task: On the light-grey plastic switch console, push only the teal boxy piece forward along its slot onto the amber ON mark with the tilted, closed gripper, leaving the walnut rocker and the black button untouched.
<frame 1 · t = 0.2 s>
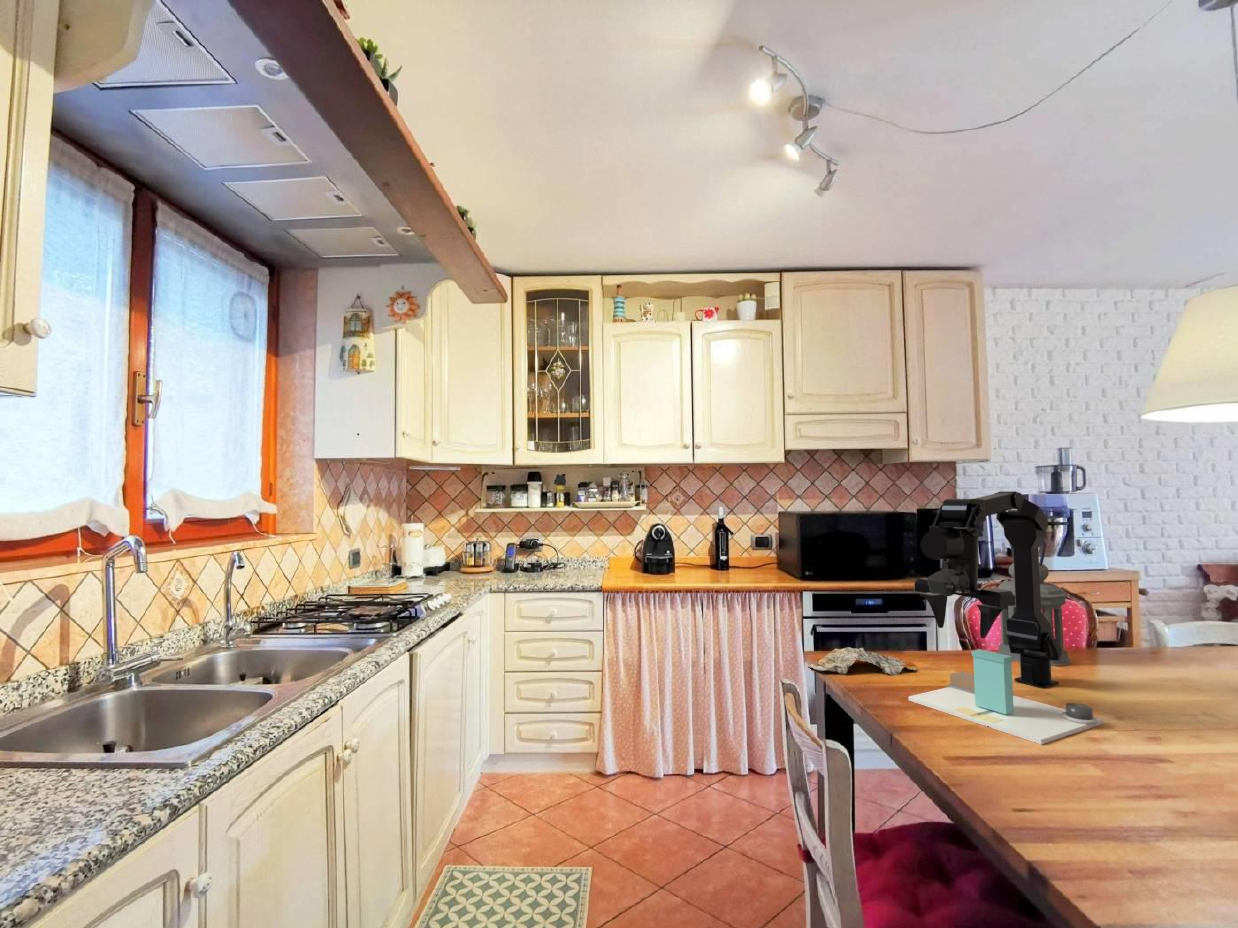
hand: (961, 632, 125), 14 cm above the table, tool pointing down, fingers open, 9 cm apart
teal boxy piece: (992, 681, 118), point 6 cm above the table, slide at 0.0 cm
lantern: (1032, 658, 159), on the table
rock: (863, 670, 151), on the table
console: (999, 711, 119), on the table
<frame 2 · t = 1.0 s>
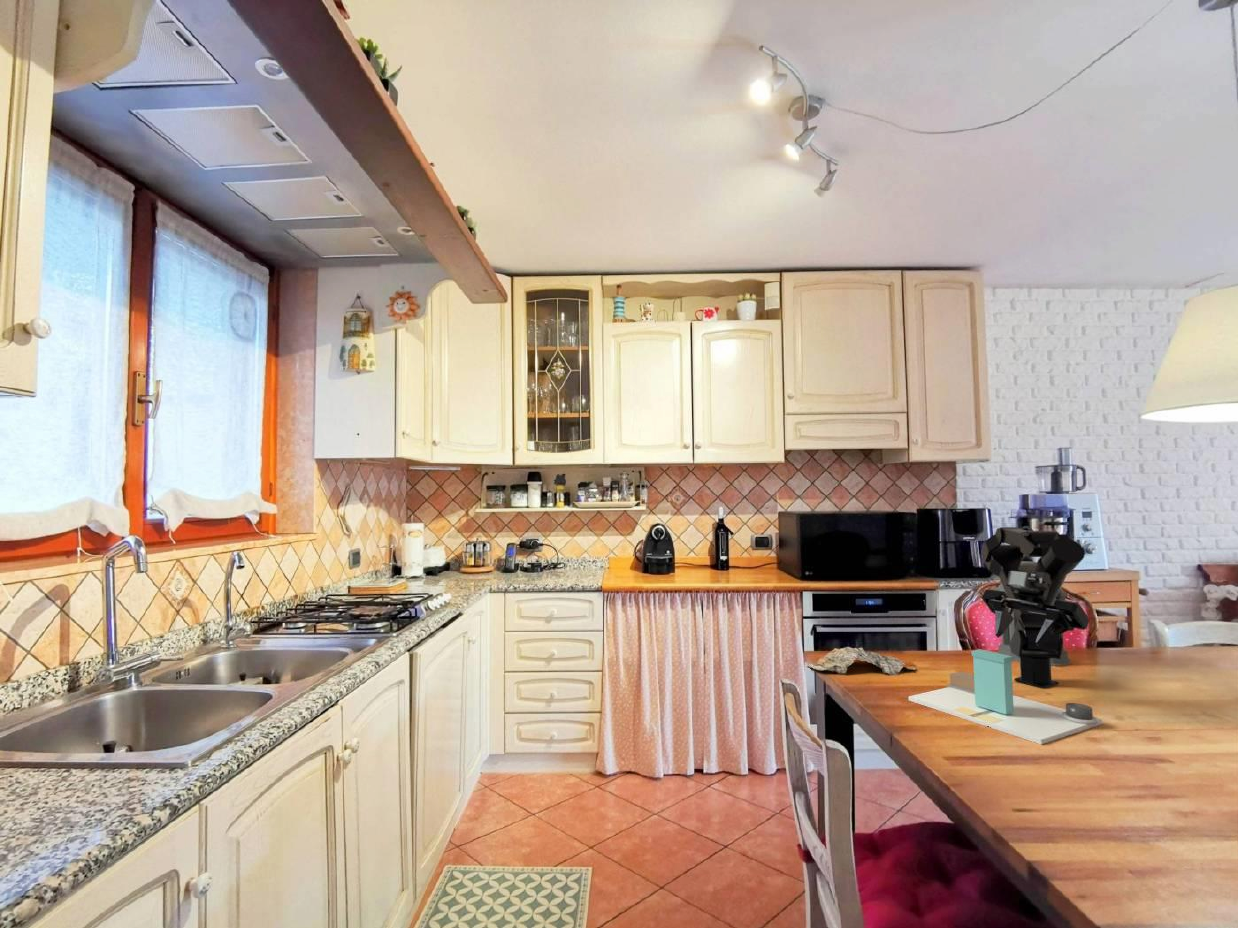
hand: (1016, 640, 123), 13 cm above the table, tool tilted 45°, fingers open, 8 cm apart
nothing on the table moved.
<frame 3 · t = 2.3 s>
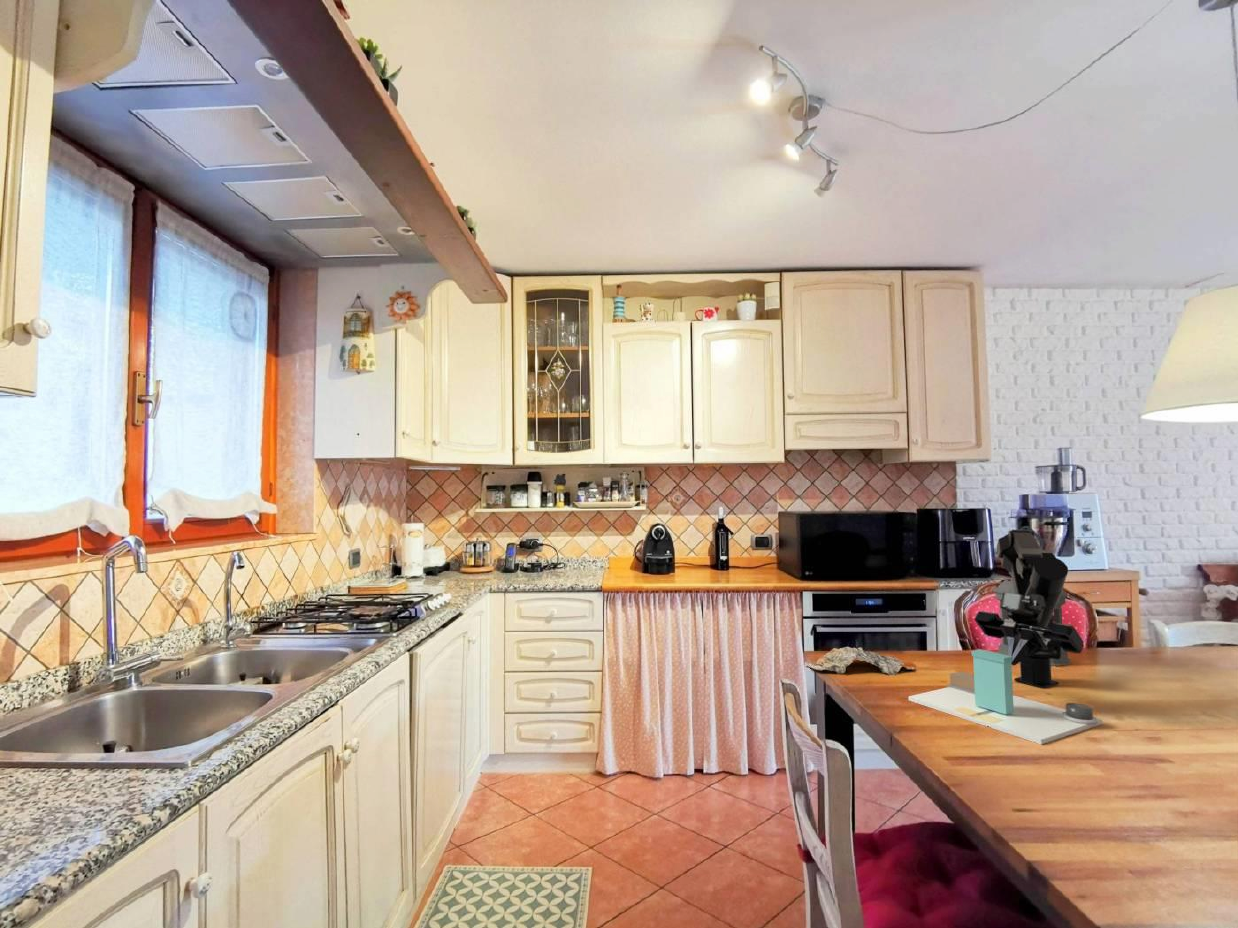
hand: (1010, 663, 121), 9 cm above the table, tool tilted 45°, fingers closed
nothing on the table moved.
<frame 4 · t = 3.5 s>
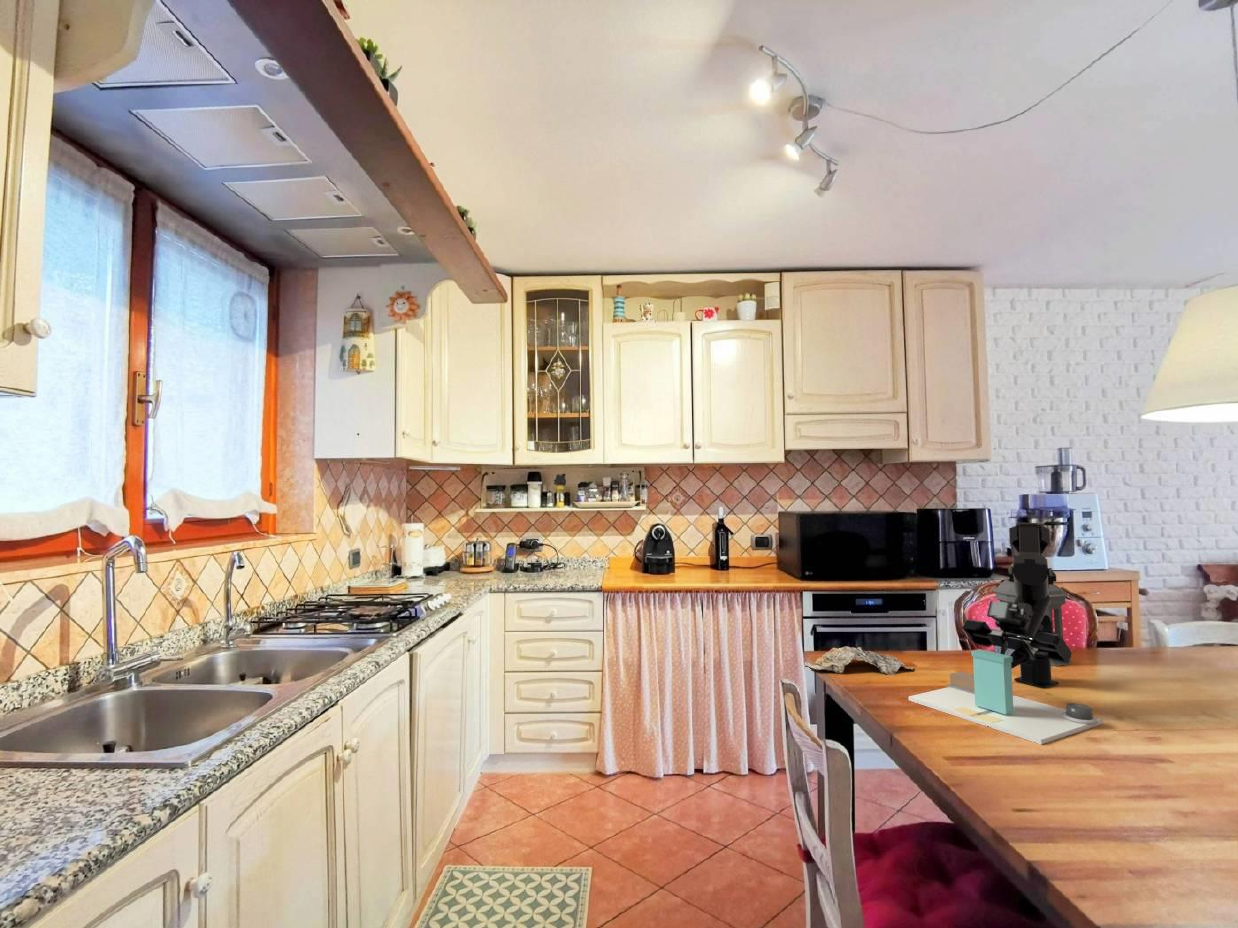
hand: (997, 673, 119), 8 cm above the table, tool tilted 45°, fingers closed, pressing on teal boxy piece
teal boxy piece: (992, 681, 118), point 6 cm above the table, slide at 0.1 cm, touching gripper
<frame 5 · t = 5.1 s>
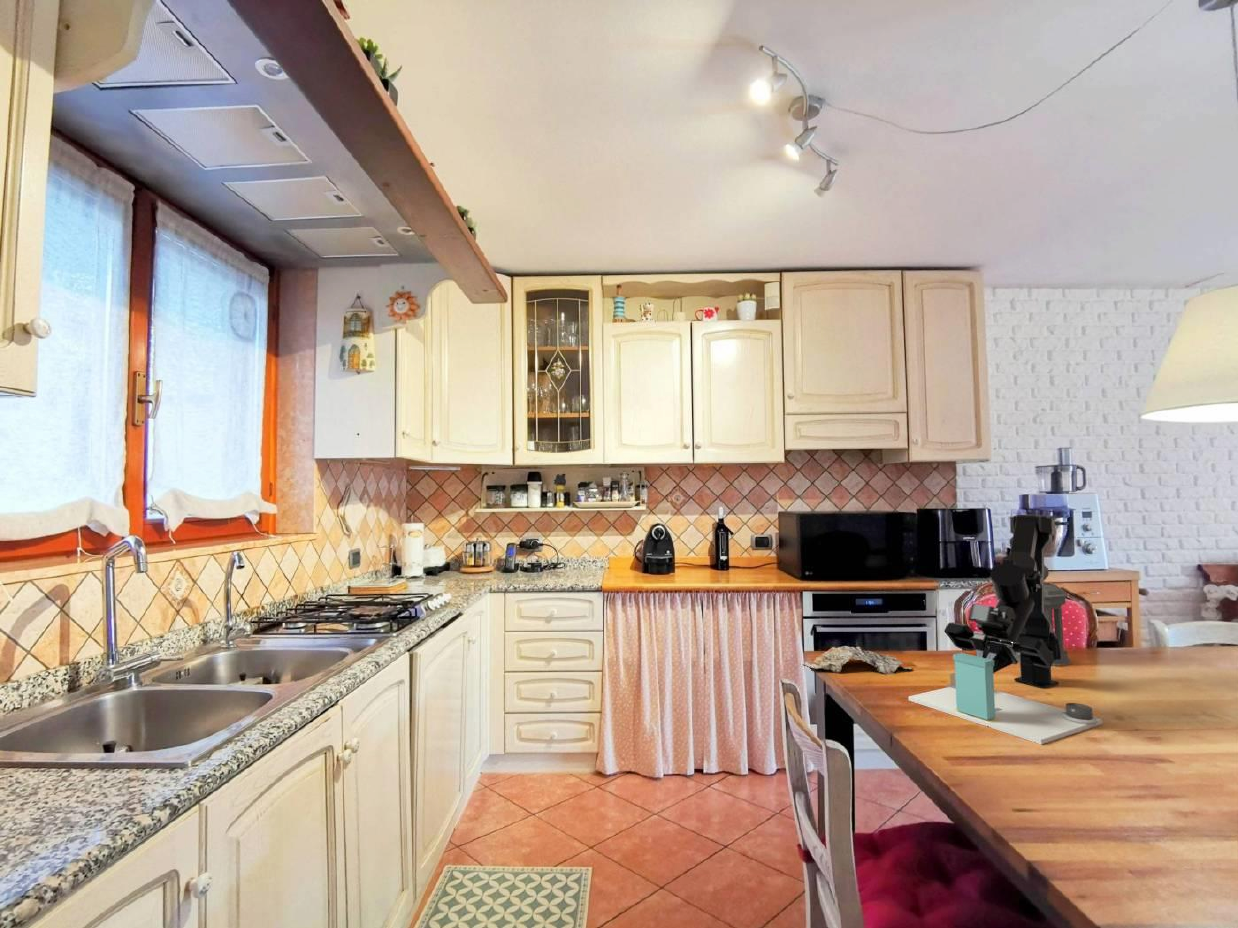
hand: (979, 678, 116), 8 cm above the table, tool tilted 45°, fingers closed, pressing on teal boxy piece
teal boxy piece: (974, 685, 116), point 6 cm above the table, slide at 5.9 cm, touching gripper
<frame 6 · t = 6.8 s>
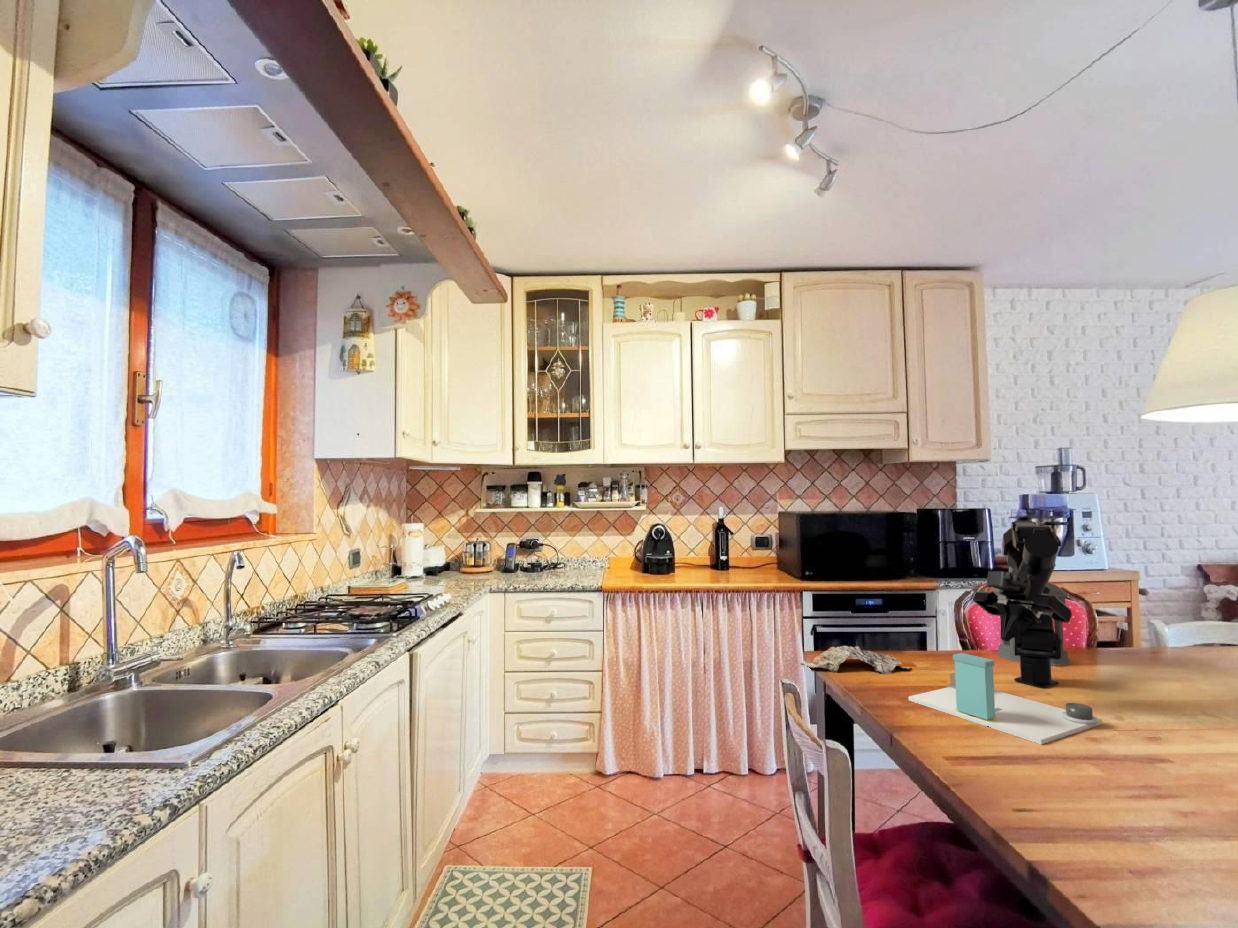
hand: (1003, 640, 124), 13 cm above the table, tool tilted 40°, fingers closed
teal boxy piece: (974, 685, 116), point 6 cm above the table, slide at 5.9 cm
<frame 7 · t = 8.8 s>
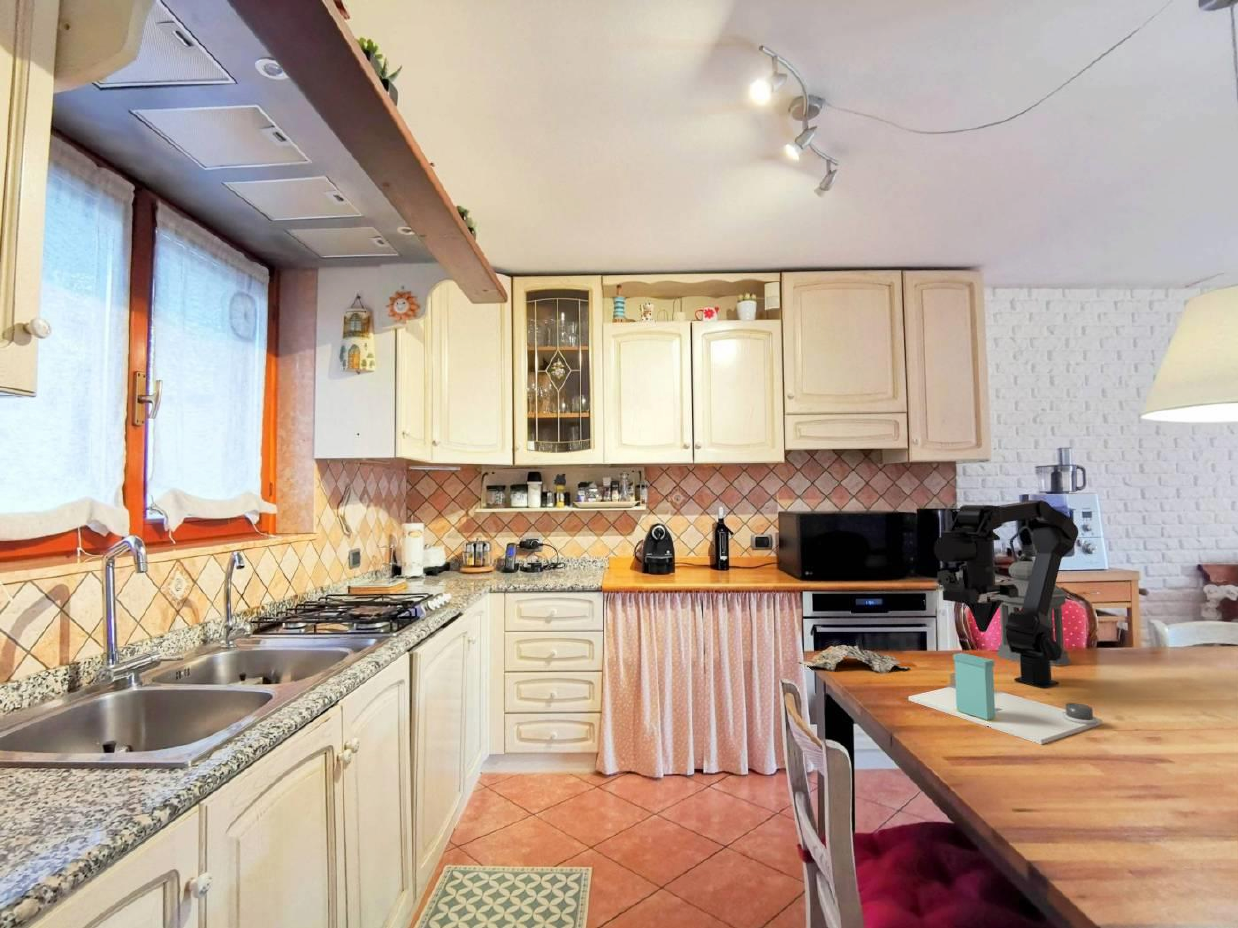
hand: (982, 631, 133), 13 cm above the table, tool pointing down, fingers closed
at the end: teal boxy piece slide at 5.9 cm; the gripper is holding nothing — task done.
